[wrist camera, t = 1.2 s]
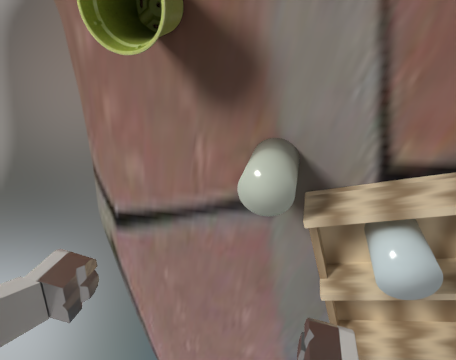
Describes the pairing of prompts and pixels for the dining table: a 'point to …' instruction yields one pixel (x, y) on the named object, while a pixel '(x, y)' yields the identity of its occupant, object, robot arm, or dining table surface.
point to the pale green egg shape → (270, 178)
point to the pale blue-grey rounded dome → (402, 259)
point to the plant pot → (129, 22)
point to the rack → (363, 271)
